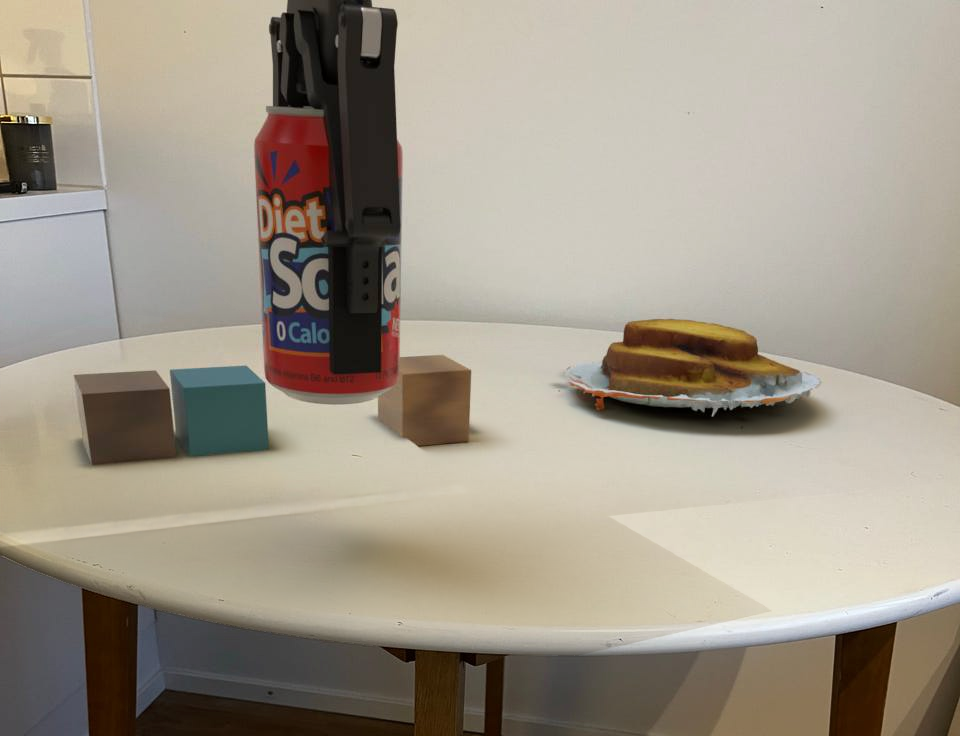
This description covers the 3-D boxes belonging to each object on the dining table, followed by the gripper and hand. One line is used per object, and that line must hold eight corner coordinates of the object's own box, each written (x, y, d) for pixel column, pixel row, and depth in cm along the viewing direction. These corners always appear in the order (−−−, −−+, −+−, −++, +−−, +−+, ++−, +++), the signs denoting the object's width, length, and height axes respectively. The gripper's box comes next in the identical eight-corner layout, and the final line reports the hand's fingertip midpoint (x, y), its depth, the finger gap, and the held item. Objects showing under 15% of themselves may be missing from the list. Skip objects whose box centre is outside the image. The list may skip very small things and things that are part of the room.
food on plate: (593, 434, 89) (600, 358, 86) (537, 371, 111) (541, 308, 108) (864, 433, 93) (880, 360, 90) (758, 371, 114) (768, 311, 111)
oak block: (402, 447, 83) (402, 374, 80) (377, 428, 88) (377, 358, 85) (469, 441, 85) (471, 369, 83) (441, 423, 90) (443, 354, 88)
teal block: (191, 467, 77) (183, 387, 74) (176, 445, 81) (169, 369, 79) (269, 460, 79) (265, 382, 76) (251, 438, 84) (246, 365, 81)
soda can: (368, 373, 65) (368, 109, 58) (420, 404, 59) (428, 113, 52) (248, 381, 62) (233, 101, 55) (290, 415, 55) (280, 105, 49)
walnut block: (93, 476, 74) (81, 393, 71) (84, 452, 79) (73, 374, 76) (177, 468, 76) (169, 388, 73) (164, 446, 81) (156, 370, 78)
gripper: (487, -155, 42) (462, 395, 52) (335, -90, 58) (339, 319, 69) (310, -185, 39) (321, 404, 49) (202, -108, 55) (228, 322, 66)
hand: (332, 354), depth 59 cm, fingers closed on soda can, 8 cm apart
